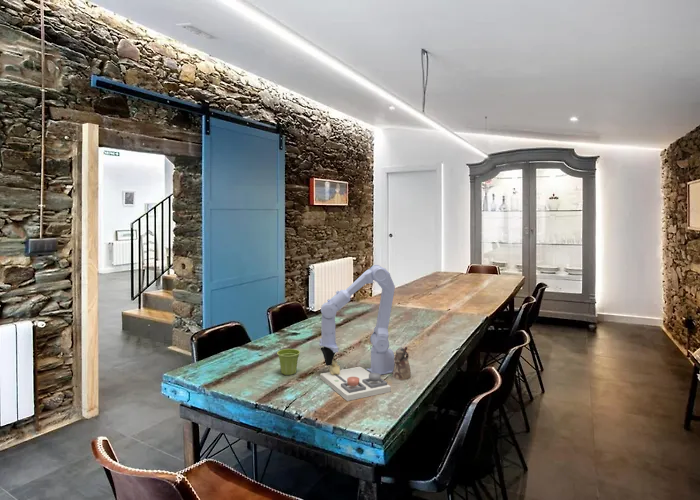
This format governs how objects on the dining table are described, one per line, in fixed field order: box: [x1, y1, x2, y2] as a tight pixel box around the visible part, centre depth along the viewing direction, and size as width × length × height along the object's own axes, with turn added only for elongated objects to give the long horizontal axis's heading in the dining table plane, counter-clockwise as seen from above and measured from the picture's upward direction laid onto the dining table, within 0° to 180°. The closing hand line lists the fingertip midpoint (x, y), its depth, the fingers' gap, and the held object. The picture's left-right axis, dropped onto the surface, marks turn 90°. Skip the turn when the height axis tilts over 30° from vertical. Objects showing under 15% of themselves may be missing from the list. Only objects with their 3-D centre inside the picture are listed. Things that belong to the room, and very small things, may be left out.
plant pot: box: [276, 348, 301, 376], centre depth 179 cm, size 9×9×9 cm
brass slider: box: [329, 358, 341, 375], centre depth 172 cm, size 3×3×5 cm
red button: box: [347, 377, 359, 386], centre depth 158 cm, size 4×4×2 cm
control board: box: [319, 366, 392, 402], centre depth 166 cm, size 18×24×3 cm
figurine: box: [392, 346, 411, 381], centre depth 174 cm, size 7×7×12 cm
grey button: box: [369, 372, 382, 382], centre depth 162 cm, size 4×4×2 cm
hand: (328, 364), depth 177 cm, fingers closed
